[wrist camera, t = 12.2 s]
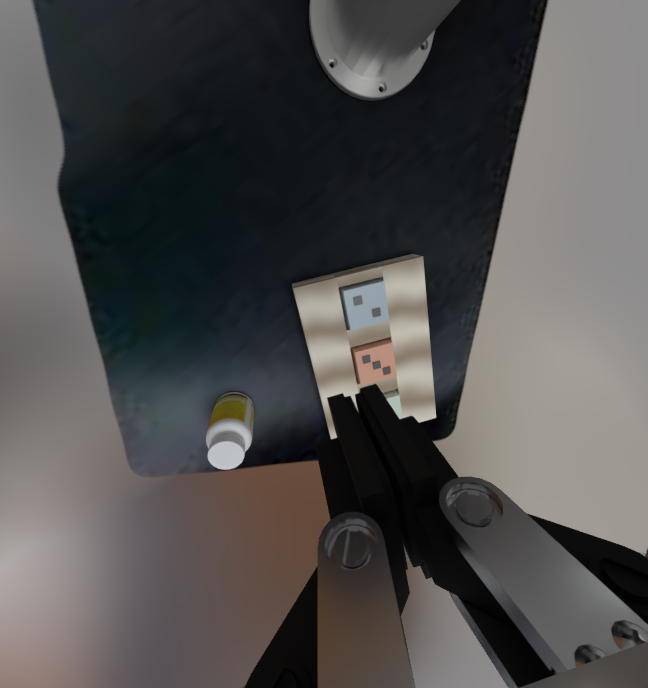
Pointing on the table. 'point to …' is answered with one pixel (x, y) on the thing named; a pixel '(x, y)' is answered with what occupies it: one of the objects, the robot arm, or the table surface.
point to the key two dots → (364, 303)
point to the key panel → (371, 334)
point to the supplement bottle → (230, 430)
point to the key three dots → (374, 361)
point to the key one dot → (394, 401)
